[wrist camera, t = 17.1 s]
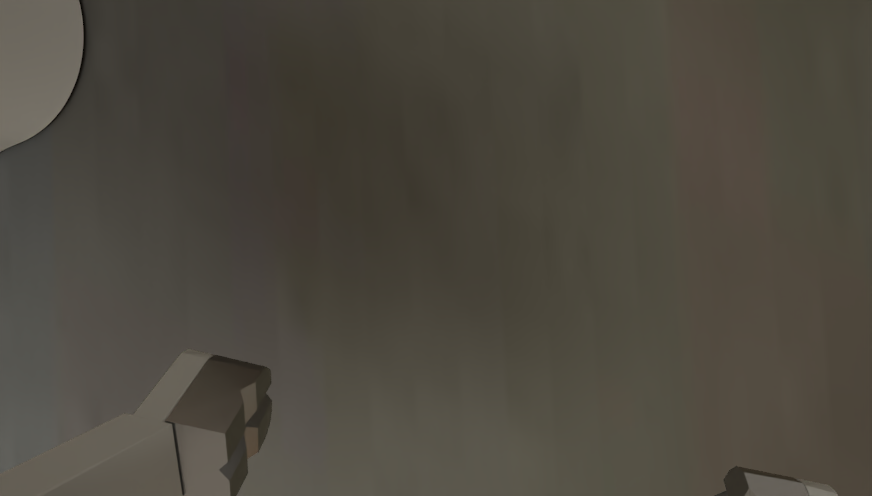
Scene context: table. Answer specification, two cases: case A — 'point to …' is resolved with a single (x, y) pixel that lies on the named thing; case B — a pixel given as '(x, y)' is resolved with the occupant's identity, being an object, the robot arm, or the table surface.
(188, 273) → the table surface
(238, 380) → the robot arm
